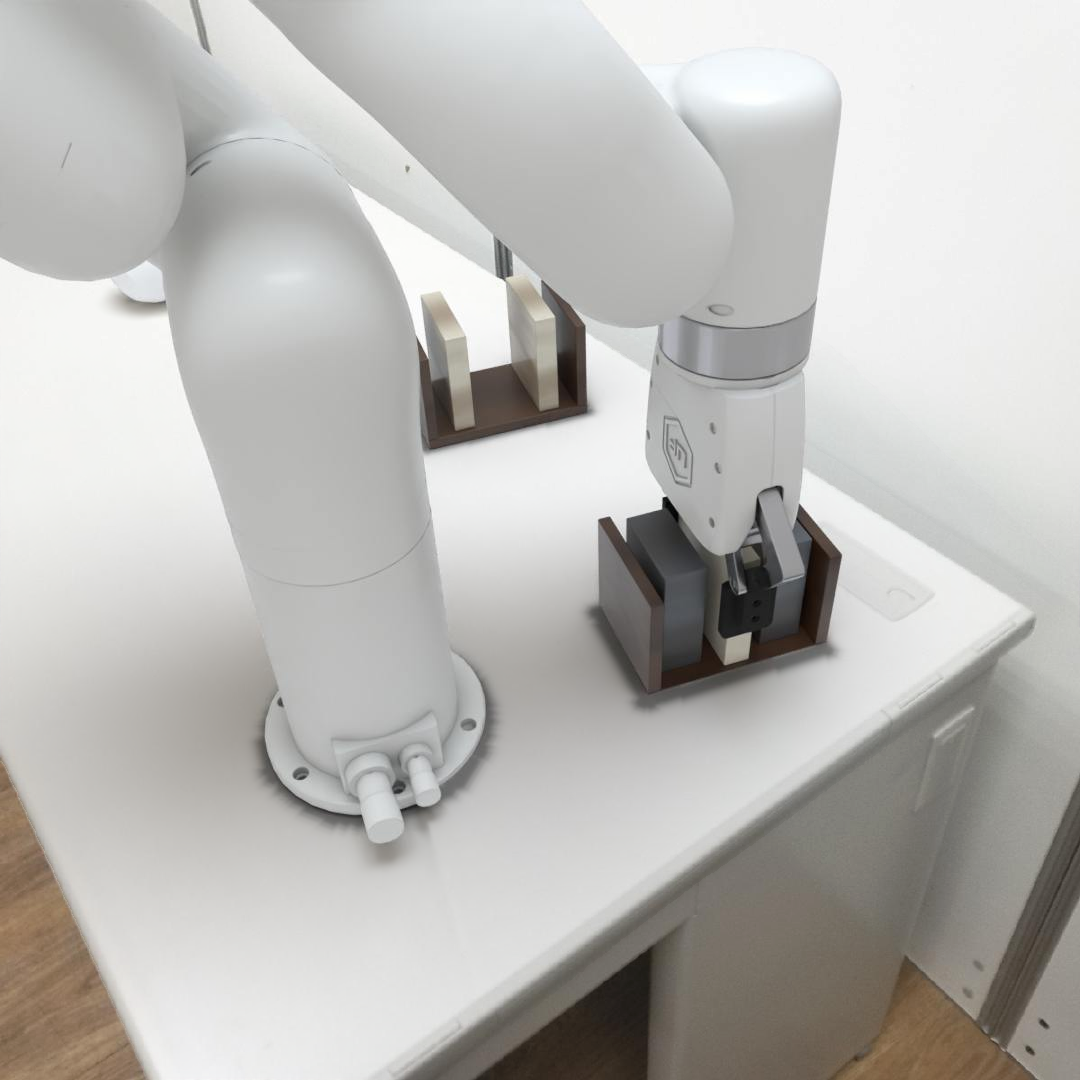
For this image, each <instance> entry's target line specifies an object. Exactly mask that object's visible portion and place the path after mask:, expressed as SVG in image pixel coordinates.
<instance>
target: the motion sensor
mask: <svg viewBox="0 0 1080 1080" xmlns="http://www.w3.org/2000/svg"><path fill="white" fill-rule="evenodd" d="M110 280H111V281H112V283H113V284H114V285H115V286H116V287H117V288H118V289H119V290H120V291H121V292H123V294H125V295H126V296H128V297H129V298H130V299H131V300H134V301H137V302H141V303H142V302H143V303H160V302H166V300H165V295H164V289H163V279H162V271H161V270H159V269H158V268H157V267H155V266H154V265H152V264H151V263H149V262H148V261H145V262H144V263H142V264H141V265H139V266H137V267H136V268H134V269H132V270H131V271H128V272H126V273H124V274H121V275H119V276H117V277H112V278H110Z"/></svg>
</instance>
